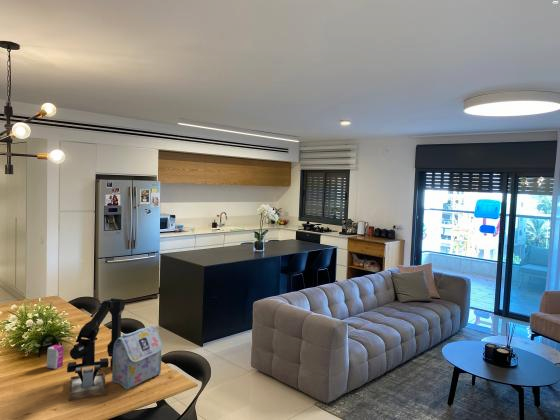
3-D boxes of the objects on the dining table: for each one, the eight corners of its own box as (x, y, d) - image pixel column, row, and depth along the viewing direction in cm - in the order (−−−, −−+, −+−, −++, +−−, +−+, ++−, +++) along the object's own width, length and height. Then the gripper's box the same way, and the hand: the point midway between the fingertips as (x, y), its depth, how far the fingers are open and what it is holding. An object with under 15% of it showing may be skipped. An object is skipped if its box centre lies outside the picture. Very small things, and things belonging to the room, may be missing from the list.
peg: (92, 383, 210) (93, 368, 209) (92, 387, 205) (92, 372, 205) (82, 385, 208) (83, 369, 207) (82, 389, 204) (83, 373, 203)
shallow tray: (104, 378, 218) (104, 372, 218) (105, 395, 202) (105, 388, 202) (70, 383, 212) (70, 376, 211) (68, 400, 195) (68, 393, 195)
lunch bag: (129, 392, 205) (131, 341, 204) (108, 382, 214) (110, 333, 213) (164, 376, 224) (166, 328, 223) (144, 367, 233) (145, 321, 232)
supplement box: (55, 369, 225) (56, 349, 225) (46, 368, 226) (46, 348, 226) (63, 365, 231) (63, 345, 230) (54, 364, 232) (54, 344, 231)
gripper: (108, 343, 217) (107, 371, 218) (68, 347, 209) (67, 377, 210) (108, 351, 206) (108, 381, 208) (67, 356, 199) (66, 387, 200)
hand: (87, 381), depth 206 cm, fingers closed on peg, 4 cm apart
